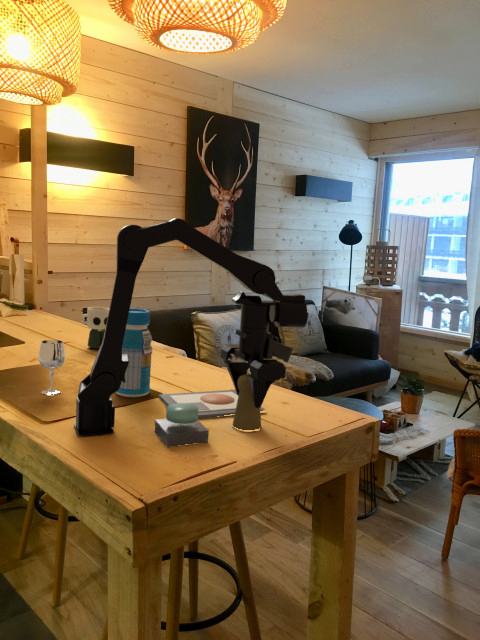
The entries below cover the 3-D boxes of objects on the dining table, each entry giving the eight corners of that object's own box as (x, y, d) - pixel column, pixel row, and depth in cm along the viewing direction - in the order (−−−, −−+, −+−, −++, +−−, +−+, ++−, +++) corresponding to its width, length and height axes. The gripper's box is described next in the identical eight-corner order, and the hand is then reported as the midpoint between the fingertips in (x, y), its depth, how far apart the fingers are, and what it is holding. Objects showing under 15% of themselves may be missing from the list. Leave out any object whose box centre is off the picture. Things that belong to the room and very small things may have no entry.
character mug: (84, 351, 169) (85, 310, 167) (77, 346, 174) (78, 306, 172) (117, 349, 175) (119, 309, 173) (109, 344, 180) (111, 306, 178)
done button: (171, 425, 99) (172, 414, 99) (162, 414, 104) (162, 404, 104) (202, 422, 102) (202, 412, 101) (191, 412, 107) (192, 402, 107)
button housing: (167, 447, 98) (167, 434, 98) (154, 431, 105) (155, 419, 105) (207, 443, 102) (208, 430, 101) (193, 428, 109) (194, 416, 108)
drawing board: (180, 420, 113) (180, 415, 113) (158, 397, 127) (158, 393, 127) (265, 413, 121) (265, 408, 121) (235, 392, 136) (236, 388, 136)
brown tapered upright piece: (267, 428, 112) (271, 376, 110) (247, 434, 108) (251, 381, 106) (245, 420, 116) (249, 370, 114) (226, 425, 112) (229, 374, 110)
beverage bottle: (118, 399, 124) (121, 313, 121) (110, 388, 131) (113, 307, 128) (154, 397, 128) (158, 313, 125) (144, 387, 135) (148, 307, 132)
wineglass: (57, 387, 129) (58, 338, 128) (68, 393, 125) (70, 343, 124) (33, 391, 125) (34, 340, 124) (44, 397, 121) (45, 345, 120)
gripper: (313, 334, 104) (306, 413, 106) (268, 318, 120) (262, 386, 123) (261, 335, 99) (255, 417, 101) (222, 318, 116) (217, 389, 118)
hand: (248, 401), depth 111 cm, fingers open, 8 cm apart
